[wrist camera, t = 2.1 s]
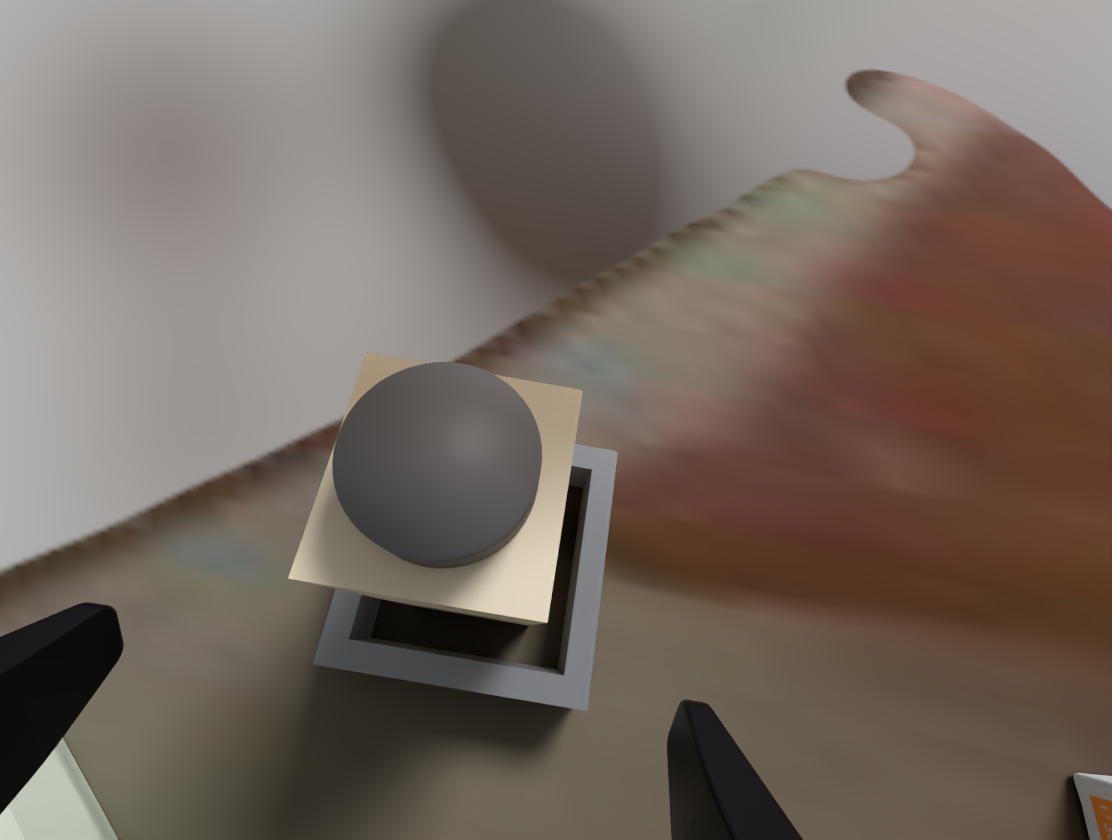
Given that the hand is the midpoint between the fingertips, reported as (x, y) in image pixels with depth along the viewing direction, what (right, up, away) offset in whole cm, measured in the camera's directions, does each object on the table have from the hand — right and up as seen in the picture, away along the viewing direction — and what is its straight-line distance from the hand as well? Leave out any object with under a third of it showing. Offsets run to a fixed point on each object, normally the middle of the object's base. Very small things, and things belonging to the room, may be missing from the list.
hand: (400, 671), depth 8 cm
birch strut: (0, -1, +10) cm, 10 cm away
